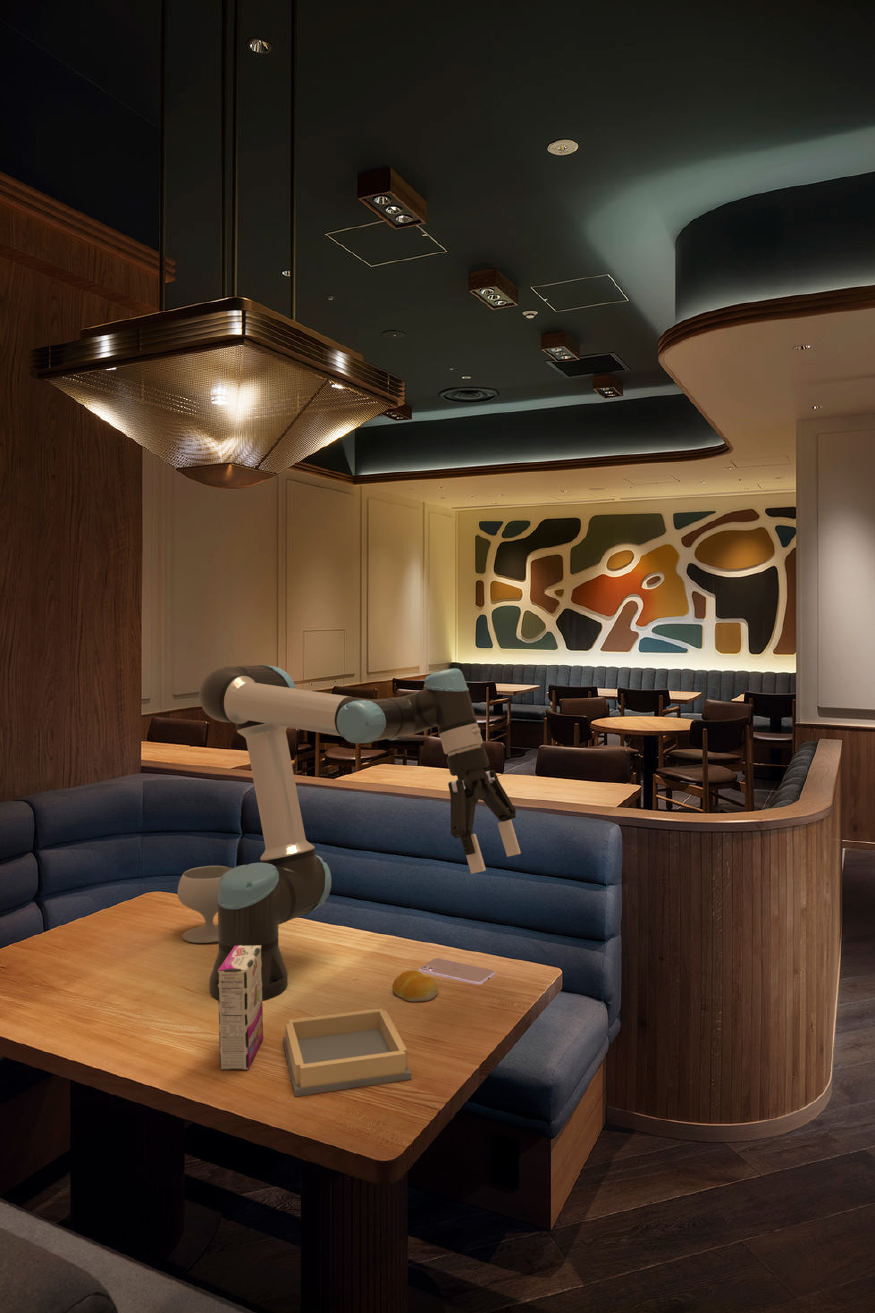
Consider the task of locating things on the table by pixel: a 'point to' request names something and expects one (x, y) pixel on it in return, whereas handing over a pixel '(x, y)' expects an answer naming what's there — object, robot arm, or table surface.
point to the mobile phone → (457, 971)
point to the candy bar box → (240, 1007)
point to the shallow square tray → (344, 1052)
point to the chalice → (202, 900)
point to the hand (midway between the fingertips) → (496, 863)
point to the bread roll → (415, 986)
